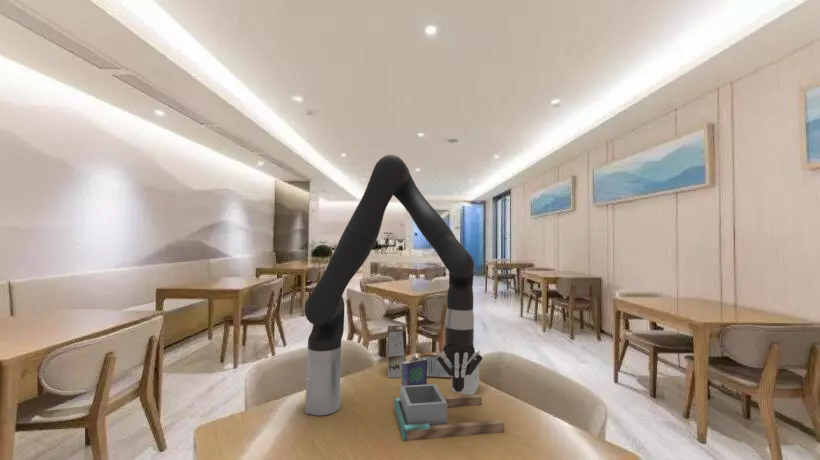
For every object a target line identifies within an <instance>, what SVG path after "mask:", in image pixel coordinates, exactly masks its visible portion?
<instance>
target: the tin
mask: <svg viewBox="0 0 820 460" xmlns="http://www.w3.org/2000/svg"><path fill="white" fill-rule="evenodd" d="M440 353H441V352H440V351H439V352H438V351H424V352H423V353H421V354H420V355H418V357H417V358H420V357H422V358H426V359H427V378H431V379H432V378H434V379H452V376H449V375H448V373H447V372H446V371H445V369H444V368H443V367H442V365H441V364H440V363H439V361H438V360H437V359H436V355H437V354H440ZM445 358H446V361H445V363H446V364H447V366H448V367H449V368H450V369H452V366H451V362H450V360H449V359H448V358H447V356H445Z"/></svg>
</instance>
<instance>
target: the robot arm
mask: <svg viewBox="0 0 820 460" xmlns="http://www.w3.org/2000/svg"><path fill="white" fill-rule="evenodd" d="M393 197H395V198H396V199H397V201H398V202H399V203H401V205H402V206H403V207H404V208H405V210H406V211H407V213H408V214H409V215H410V217H411V219H412V221H413V222H414V224H415V225H416V228H417V229H418V230H419V232H420V233H421V234H422V236H423V237H424V239H425V240H426V241H427V242H428V244H429V245H430V246H431V248H433V250H434V251H435V252H436V253H437V255H438V257H439V259H440V260H441V262H442V264H443V265H444V266H445V268H446V269H447V270H448V289H447V294H446V295H447V297H446V298H447V299H446V313H445V320H444V321H445V322H444V323H445V330H444V331H445V335H444V336H445V338H444V339H445V340H444V341H445V342H444V343H445V344H444V346H443V349H442V351H441V352H440V354H437V355H436V359H437V360H438V361H439V363H440V364H441V365H442V367H443V368H444V369H445V371H446V372H447V373H448V375H449V376H452V378H451V387H452V386H453V388H454V390H455V391H456V392H455V393H459V392H462V389H464V377H465V376H466V375H471V374H472V372H473V371H474V370H475V368H476V367H477V365H478V364H479V365H480V363H481V362H482V360H483V356H482V355H481V354H480V353H479V354H478V353H476V352H475V349H476V348H475V347H474V338H475V337H474V331H475V329H474V327H475V315H474V287H473V285H474V273H475V272H474V271H475V270H474V269H475V261H474V258H473V256H472V255H471V254H470V253H469V252H468V251H467V250H466V249H465V247H464V246H463V245H462V244H461V242H459V240H458V239H457V237H456V236H455V234H454V232H453V231H452V229H451V228H450V227H449V225H448V224H447V223H446V221H445V220H444V219H443V217H442V216H441V215H440V214H439V213H438V212H437V210H436V209H435V208H434V207H433V206H432V204H430V203H429V201H428V200H427V199H426V198H425V196H424V195H423V194H422V192H421V191H420V188H419V187H418V186H417V184H416V183H415V181H414V179H413V177H412V175H411V173H410V170H409V167H408V166H407V164H406V163H405V162H404V160H403V159H402V158H400V157H399V156H398V155H394V154H387V155H384V156H383V157H381V158H380V159H379V160H378V161H377V162H376V164H375V165H374V168H373V170H372V172H371V175H370V178H369V180H368V183H367V185H366V188H365V191H364V193H363V195H362V197H361V199H360V201H359V203H358V205H357V206H356V208H355V210H354V212H353V213H352V216H351V217H350V220H349V221H348V223H347V225H346V227H345V228H344V231H343V232H342V234H341V236H340V239H339V240H338V242H337V244H336V247H335V249H334V250H333V253H332V255H331V257H330V259H329V262H328V264H327V266H326V268H325V270H324V272H323V274H322V276H321V278H320V279H319V281H318V282H317V283H316V285H315V287H314V289H313V290H312V291H311V293H310V294H309V296H308V298H307V299H306V302H305V305H304V315H305V317H306V320H307V321H308V322H309V323H310V324H312V329H311V332H310V334H309V336H308V338H307V339H308V340H307V374H306V378H305V414H306V415H312V416H328V415H331V414H334V413H336V412H338V411H339V410H340V408H341V381H342V380H341V377H342V375H341V373H342V372H341V371H342V370H341V369H342V340H343V336H344V328H345V327H344V326H345V301H344V300H345V299H344V297H343V295H344V293H345V291H346V288H347V286H348V285H349V284H350V282H351V281H352V279H353V277H354V276H355V275H356V274H357V272H358V271H360V269H361V267H362V266H363V265H364V263H366V260H367V258H368V257H369V256H370V253H371V252H372V250H373V247H374V246H375V244H376V242H377V240H378V236H379V234H380V231H381V227H382V223H383V219H384V216H385V215H384V214H385V212H386V209H387V207H388V206H389V203H390V202H391V200H392V198H393ZM445 356H447V358H448V359H449V360H450V362H451V366H452V369H450V368H449V367H448V366H447V364H446V363H445V361H446V358H445ZM471 357H472V359H471V361H470V362H469V363H468V365H467V362H468V361H469V360H470V358H471Z"/></svg>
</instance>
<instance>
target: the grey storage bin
mask: <svg viewBox="0 0 820 460" xmlns="http://www.w3.org/2000/svg"><path fill="white" fill-rule="evenodd" d="M399 391H400V395H399V396H400V397H399V398H400V407H401V410H402V413H403V416H404V419H405V423H406V425H413V424H425V423H428V424H429V426H433V425H445V424H448V407H447V402H446V400H445V398H444V397H445V396H444V395H443V394H442V392H441V389H439V387H438V386H437V384H436V383H431V384H430V383H429V384H428V383H427V385H411V386H402V385H400V389H399Z"/></svg>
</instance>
